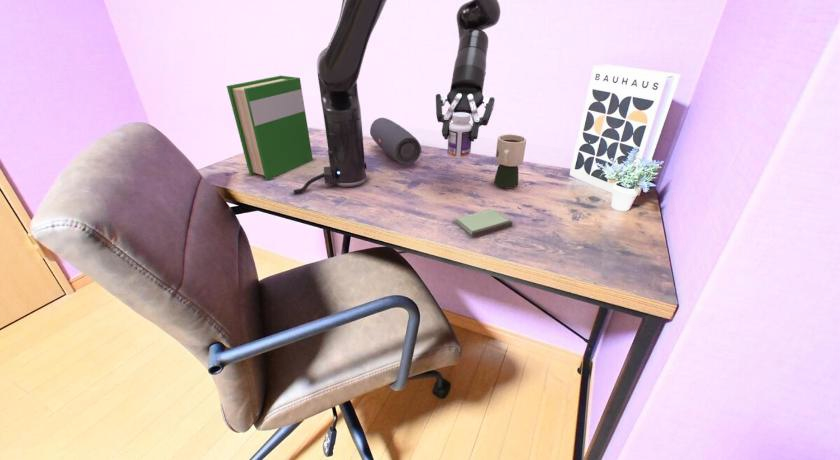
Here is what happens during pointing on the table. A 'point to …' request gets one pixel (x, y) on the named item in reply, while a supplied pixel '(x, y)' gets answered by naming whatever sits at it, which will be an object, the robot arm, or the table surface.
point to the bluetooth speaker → (395, 141)
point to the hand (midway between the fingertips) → (459, 138)
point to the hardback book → (271, 124)
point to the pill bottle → (459, 136)
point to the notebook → (483, 222)
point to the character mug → (509, 159)
